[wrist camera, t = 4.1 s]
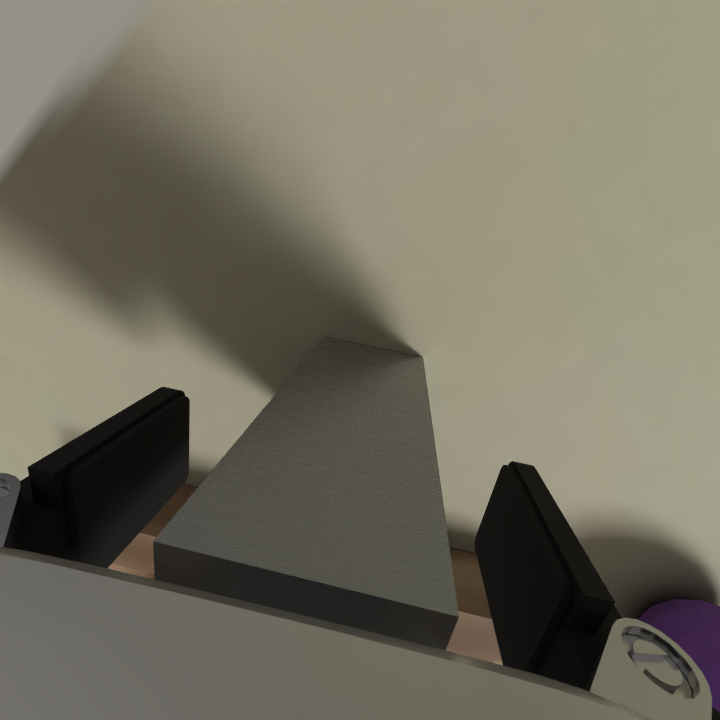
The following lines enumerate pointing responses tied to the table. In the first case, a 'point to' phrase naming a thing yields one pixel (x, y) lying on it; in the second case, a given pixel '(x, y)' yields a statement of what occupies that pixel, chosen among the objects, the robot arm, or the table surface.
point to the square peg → (328, 503)
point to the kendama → (692, 635)
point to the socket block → (474, 613)
